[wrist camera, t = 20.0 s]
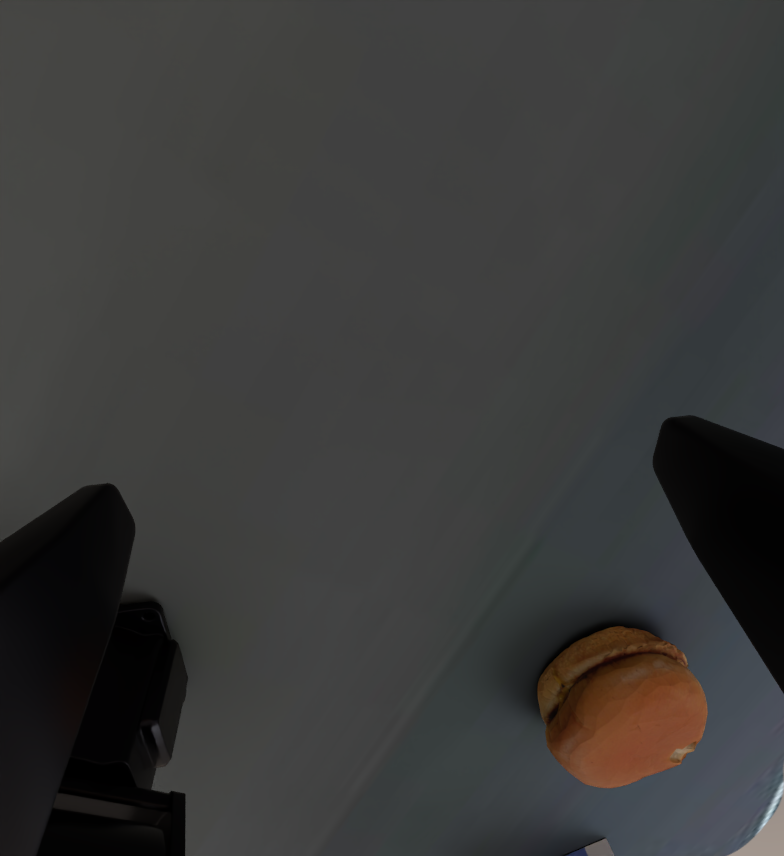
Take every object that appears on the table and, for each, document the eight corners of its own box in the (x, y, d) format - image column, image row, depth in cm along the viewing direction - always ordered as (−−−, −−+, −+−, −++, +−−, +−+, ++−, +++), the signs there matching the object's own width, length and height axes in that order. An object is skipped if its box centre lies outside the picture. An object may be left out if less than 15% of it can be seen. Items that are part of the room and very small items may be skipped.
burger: (557, 621, 28) (604, 696, 24) (693, 618, 30) (757, 686, 26) (510, 734, 32) (543, 816, 28) (632, 724, 34) (680, 798, 30)
